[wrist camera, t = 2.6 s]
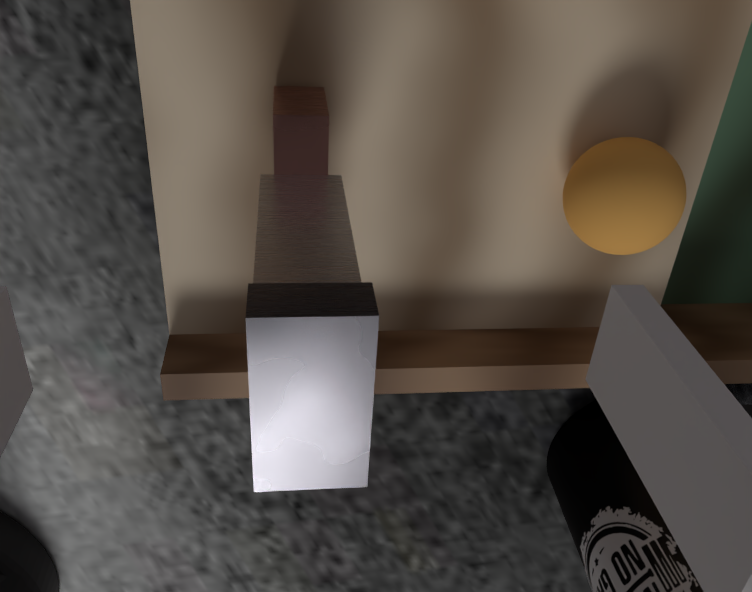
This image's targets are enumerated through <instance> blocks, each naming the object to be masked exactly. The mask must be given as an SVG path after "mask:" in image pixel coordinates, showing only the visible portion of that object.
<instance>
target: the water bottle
mask: <svg viewBox="0 0 752 592" xmlns="http://www.w3.org/2000/svg"><path fill="white" fill-rule="evenodd" d="M547 472H548V476H549V478H550V481H551V484H552V486H553V489H554V491H555V494H556V496H557V499H558V501H559V504H560V507H561V509H562V512H563V514H564V517H565V519H566V522H567V525H568V527H569V530H570V532H571V535H572V537H573V540H574V542H575V545H576V548H577V550H578V553H579V555H580V558H581V560H582V563H583V566H584V569H585V573H586V574H587V575H586V576H588V577H587V578H588V581H589V584H590V583H591V584H590V586H592V587H591V589H593V590H592V592H703V590H702V588H701V586H700V584H699V583H698V581H697V579H696V577H695V575H694V574H693V572H692V570H691V568H690V566H689V565H688V563H687V561H686V559H685V557H684V556H683V554H682V552H681V550H680V548H679V547H678V545H677V543H676V541H675V539H674V538H673V536H672V534H671V532H670V530H669V529H668V527H667V525H666V523H665V521H664V520H663V518H662V516H661V514H660V513H659V511H658V509H657V507H656V505H655V504H654V502H653V500H652V498H651V496H650V495H649V493H648V491H647V489H646V487H645V486H644V484H643V482H642V480H641V478H640V477H639V475H638V473H637V471H636V469H635V468H634V466H633V464H632V462H631V460H630V459H629V457H628V455H627V453H626V451H625V450H624V448H623V446H622V444H621V442H620V441H619V439H618V437H617V435H616V433H615V432H614V430H613V428H612V426H611V424H610V423H609V421H608V419H607V417H606V416H605V414H604V412H603V410H602V408H601V407H600V405H599V403H598V401H597V400H596V401H594V402H592V403H590V404H589V405H587V406H586V407H584V408H583V409H581V410H580V411H579V412H577V413H576V414H575V415H574V416H573V417H571V418H570V419H569V420H568V421H567V422H566V423H565V424H564V426H563V427H562V428H561V429H560V431H559V432H558V433H557V435H556V437H555V438H554V440H553V442H552V444H551V447H550V449H549V453H548V457H547Z"/></svg>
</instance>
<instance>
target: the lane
mask: <svg viewBox="0 0 752 592" xmlns="http://www.w3.org/2000/svg"><path fill="white" fill-rule="evenodd" d="M130 4H131V13H132V21H133V29H134V38H135V46H136V55H137V63H138V72H139V80H140V89H141V97H142V105H143V114H144V122H145V131H146V139H147V148H148V156H149V165H150V173H151V181H152V190H153V198H154V207H155V215H156V224H157V232H158V241H159V249H160V257H161V266H162V274H163V283H164V291H165V300H166V308H167V317H168V325H169V333H170V335H169V339H168V344H167V348H166V352H165V356H164V361H163V365H162V369H161V373H160V377H161V384H162V392H163V399H164V400H192V399H226V398H249V381H248V360H247V340H246V319H245V317H246V305H247V292H248V283H253V276H254V261H255V247H256V232H257V217H258V202H259V188H260V174H274V147H273V96H274V86H305V87H324V90H325V95H326V101H327V106H328V111H329V153H328V175H341V176H342V181H343V187H344V192H345V197H346V203H347V208H348V213H349V219H350V224H351V229H352V235H353V240H354V245H355V250H356V256H357V261H358V266H359V272H360V277H361V282H372V284H373V289H374V294H375V298H376V303H377V308H378V312H379V327H378V341H377V355H376V369H375V383H374V394H398V393H432V392H466V391H500V390H535V389H569V388H590V387H589V385H588V383H587V381H586V380H585V379H586V376H587V372H588V368H589V365H590V361H591V357H592V354H593V350H594V347H595V343H596V339H597V336H598V332H599V328H600V325H601V321H602V318H603V314H604V310H605V307H606V303H607V299H608V296H609V292H610V288H611V285H644V286H645V288H646V289H647V290H648V291H649V293H650V294H651V295H652V296H653V297H654V299H655V300H656V301H657V302H658V304H659V305H660V306H661V307H662V308H663V310H664V311H665V312H666V313H667V315H668V316H669V317H670V318H671V320H672V321H673V322H674V323H675V324H676V326H677V327H678V328H679V329H680V331H681V332H682V333H683V334H684V336H685V337H686V338H687V339H688V340H689V342H690V343H691V344H692V345H693V347H694V348H695V349H696V350H697V352H698V353H699V354H700V355H701V356H702V358H703V359H704V360H705V361H706V363H707V364H708V365H709V366H710V368H711V369H712V370H713V371H714V372H715V374H716V375H717V376H718V377H719V379H720V380H721V381H722V382H723V383H724V384H740V383H752V0H130ZM619 137H636V138H641V139H645V140H649V141H651V142H654V143H656V144H657V145H659V146H661V147H662V148H664V149H665V150H666V151H667V152H669V153H670V154H671V155H672V156H673V158H674V159H675V160H676V161H677V163H678V165H679V166H680V168H681V170H682V172H683V175H684V178H685V183H686V204H685V208H684V211H683V214H682V217H681V219H680V221H679V223H678V224H677V226H676V227H675V229H674V230H673V231H672V232H671V234H670V235H669V236H668V237H667V238H665V239H664V240H663V241H662V242H660V243H659V244H657V245H656V246H654V247H652V248H650V249H648V250H646V251H643V252H639V253H635V254H630V255H614V254H608V253H604V252H601V251H598V250H596V249H594V248H592V247H590V246H588V245H587V244H586V243H584V242H583V241H582V240H581V239H580V238H579V237H578V236H577V235H576V234H575V233H574V232H573V230H572V229H571V227H570V226H569V224H568V222H567V220H566V216H565V213H564V209H563V188H564V184H565V181H566V178H567V176H568V173H569V171H570V169H571V168H572V166H573V165H574V163H575V162H576V161H577V160H578V159H579V157H580V156H581V155H582V154H584V153H585V152H586V151H587V150H589V149H590V148H591V147H593V146H595V145H597V144H599V143H601V142H603V141H606V140H610V139H613V138H619Z"/></svg>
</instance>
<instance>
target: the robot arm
mask: <svg viewBox="0 0 752 592" xmlns="http://www.w3.org/2000/svg"><path fill="white" fill-rule="evenodd" d="M585 380H586V381H587V383H588V385H589V387H590V389H591V390H592V392H593V394H594V396H595V398H596V399H597V401H598V403H599V405H600V407H601V408H602V410H603V412H604V414H605V416H606V417H607V419H608V421H609V423H610V424H611V426H612V428H613V430H614V432H615V433H616V435H617V437H618V439H619V441H620V442H621V444H622V446H623V448H624V450H625V451H626V453H627V455H628V457H629V459H630V460H631V462H632V464H633V466H634V468H635V469H636V471H637V473H638V475H639V477H640V478H641V480H642V482H643V484H644V486H645V487H646V489H647V491H648V493H649V495H650V496H651V498H652V500H653V502H654V504H655V505H656V507H657V509H658V511H659V513H660V514H661V516H662V518H663V520H664V521H665V523H666V525H667V527H668V529H669V530H670V532H671V534H672V536H673V538H674V539H675V541H676V543H677V545H678V547H679V548H680V550H681V552H682V554H683V556H684V557H685V559H686V561H687V563H688V565H689V566H690V568H691V570H692V572H693V574H694V575H695V577H696V579H697V581H698V583H699V584H700V586H701V588H702V590H703V592H752V405H741V404H740V403H739V402H738V401H737V399H736V398H735V397H734V396H733V395H732V393H731V392H730V391H729V390H728V388H727V387H726V386H725V385H724V383H723V382H722V381H721V380H720V379H719V377H718V376H717V375H716V374H715V372H714V371H713V370H712V369H711V368H710V366H709V365H708V364H707V363H706V361H705V360H704V359H703V358H702V356H701V355H700V354H699V353H698V352H697V350H696V349H695V348H694V347H693V345H692V344H691V343H690V342H689V340H688V339H687V338H686V337H685V336H684V334H683V333H682V332H681V331H680V329H679V328H678V327H677V326H676V324H675V323H674V322H673V321H672V320H671V318H670V317H669V316H668V315H667V313H666V312H665V311H664V310H663V308H662V307H661V306H660V305H659V304H658V302H657V301H656V300H655V299H654V297H653V296H652V295H651V294H650V293H649V291H648V290H647V289H646V288H645V286H644V285H611V288H610V292H609V296H608V299H607V303H606V307H605V310H604V314H603V318H602V321H601V325H600V328H599V332H598V336H597V339H596V343H595V347H594V350H593V354H592V357H591V361H590V365H589V368H588V372H587V376H586V379H585ZM32 391H33V387H32V384H31V380H30V376H29V372H28V368H27V364H26V360H25V357H24V353H23V349H22V345H21V341H20V337H19V333H18V330H17V326H16V322H15V318H14V314H13V310H12V306H11V303H10V299H9V295H8V291H7V287H6V286H0V457H1V455H2V453H3V451H4V449H5V447H6V445H7V443H8V441H9V438H10V436H11V434H12V432H13V430H14V428H15V426H16V424H17V422H18V420H19V418H20V416H21V414H22V412H23V410H24V408H25V405H26V403H27V401H28V399H29V397H30V395H31V393H32ZM0 592H59V583H58V577H57V573H56V570H55V567H54V565H53V563H52V561H51V559H50V557H49V556H48V554H47V552H46V551H45V550H44V548H43V547H42V546H41V544H40V543H39V542H38V541H37V540H36V539H35V538H34V537H33V536H32V535H31V534H30V533H29V532H28V531H27V530H26V529H24V528H23V527H22V526H21V525H20V524H18V523H17V522H16V521H14V520H13V519H11V518H10V517H8V516H7V515H5V514H4V513H2V512H0Z"/></svg>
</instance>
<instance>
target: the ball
mask: <svg viewBox="0 0 752 592" xmlns="http://www.w3.org/2000/svg"><path fill="white" fill-rule="evenodd" d="M685 204H686V183H685V178H684V175H683V172H682V170H681V168H680V166H679V165H678V163H677V161H676V160H675V159H674V158H673V156H672V155H671V154H670V153H669V152H667V151H666V150H665V149H664V148H662V147H661V146H659V145H657V144H656V143H654V142H651V141H649V140H645V139H641V138H636V137H619V138H613V139H610V140H606V141H603V142H601V143H599V144H597V145H595V146H593V147H591V148H590V149H589V150H587V151H586V152H585V153H584V154H582V155H581V156H580V157H579V159H578V160H577V161H576V162H575V163H574V165H573V166H572V168H571V169H570V171H569V173H568V176H567V178H566V181H565V184H564V188H563V209H564V213H565V216H566V220H567V222H568V224H569V226H570V227H571V229H572V230H573V232H574V233H575V234H576V235H577V236H578V237H579V238H580V239H581V240H582V241H583V242H584V243H586V244H587V245H588V246H590V247H592V248H594V249H596V250H598V251H601V252H604V253H608V254H614V255H630V254H635V253H639V252H643V251H646V250H648V249H650V248H652V247H654V246H656V245H657V244H659V243H660V242H662V241H663V240H664V239H665V238H667V237H668V236H669V235H670V234H671V232H672V231H673V230H674V229H675V227H676V226H677V224H678V223H679V221H680V219H681V217H682V214H683V211H684V208H685Z"/></svg>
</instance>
